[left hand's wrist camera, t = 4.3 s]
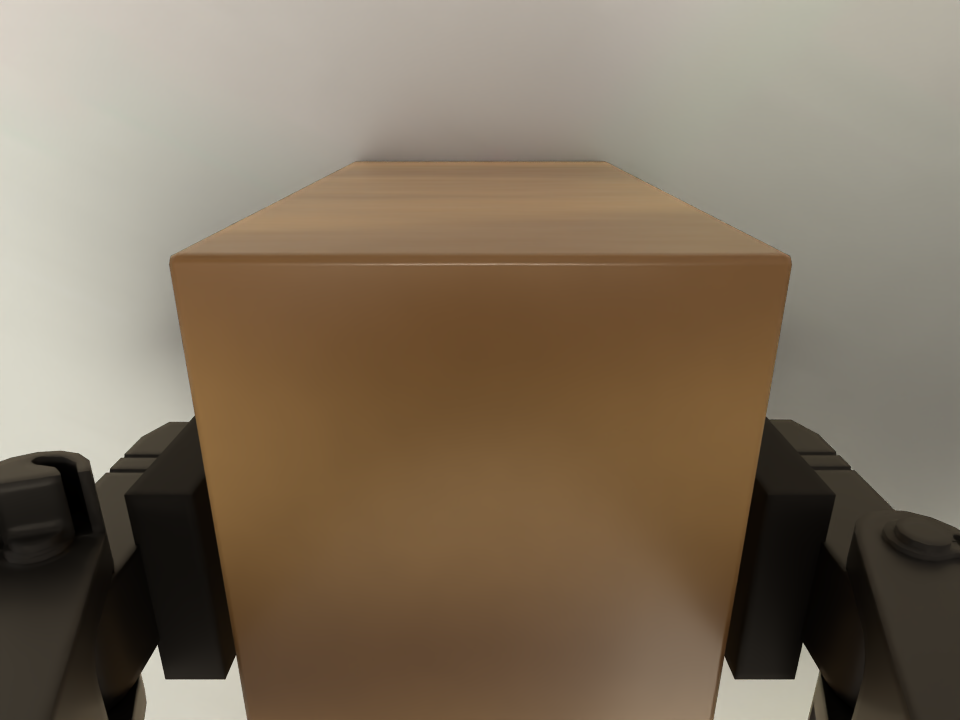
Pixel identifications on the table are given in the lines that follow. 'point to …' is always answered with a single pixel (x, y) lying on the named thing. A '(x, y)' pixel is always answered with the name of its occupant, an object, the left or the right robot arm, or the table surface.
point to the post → (480, 440)
